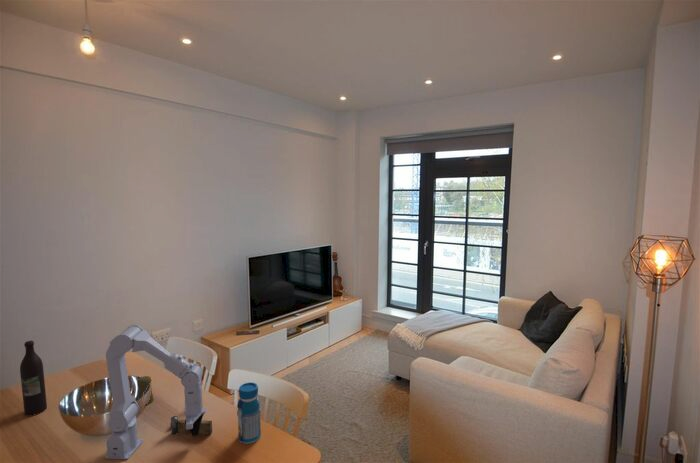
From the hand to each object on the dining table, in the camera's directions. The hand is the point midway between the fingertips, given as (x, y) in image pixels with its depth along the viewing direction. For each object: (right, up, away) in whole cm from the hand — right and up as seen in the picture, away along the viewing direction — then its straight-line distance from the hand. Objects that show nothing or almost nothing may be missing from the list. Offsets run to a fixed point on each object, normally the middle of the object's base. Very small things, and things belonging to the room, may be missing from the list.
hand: (195, 434), depth 132 cm
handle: (-3, -2, +6) cm, 7 cm away
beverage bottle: (+19, -3, +4) cm, 19 cm away
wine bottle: (-74, -1, +19) cm, 76 cm away
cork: (-33, 0, +26) cm, 42 cm away
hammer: (-11, -1, +16) cm, 19 cm away
